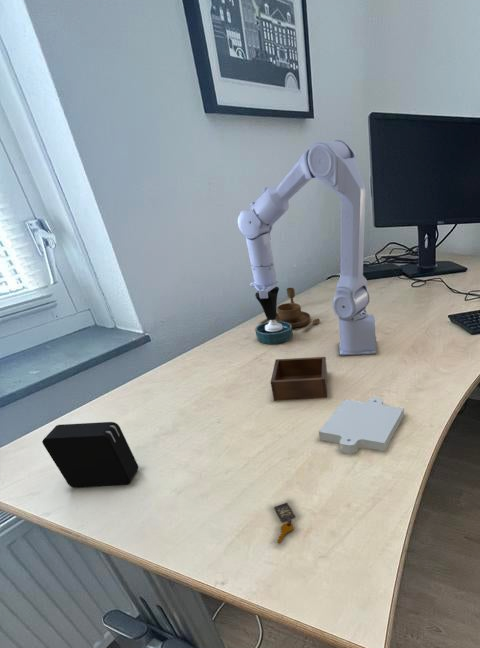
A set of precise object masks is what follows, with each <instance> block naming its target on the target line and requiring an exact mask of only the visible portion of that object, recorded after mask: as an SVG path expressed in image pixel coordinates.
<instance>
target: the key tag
mask: <svg viewBox="0 0 480 648" xmlns="http://www.w3.org/2000/svg"><path fill="white" fill-rule="evenodd" d="M273 509H274V510H275V512H276V514H277V516H278V518H279V520H280V521H281V522H285V521H287V522H285V523H283V524H282V525H281V526H280V530H281V531H280V534H279V536H278V538H277V543H279V544H280V543H281V542H282V540H283V538H284V537H285V535H288V533H290V532H291V531H292V530H293V529H294V525H293V524H292V519H293V518H296V516H295V514H294V512H293V510H292V508H291V507H290V505H289V503H288V502H284V503H282V504H279V505H275V506H274V507H273Z"/></svg>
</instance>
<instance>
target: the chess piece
mask: <svg viewBox="0 0 480 648" xmlns="http://www.w3.org/2000/svg"><path fill="white" fill-rule="evenodd" d="M268 322H269V324H267V325H266V326H265V330H266V331H270V332H274V331H279V330H281V329H282V328H283V327H282V324H280V323H277V321H276V320H269V321H268Z"/></svg>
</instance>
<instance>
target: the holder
mask: <svg viewBox="0 0 480 648" xmlns="http://www.w3.org/2000/svg"><path fill="white" fill-rule="evenodd" d="M270 387H271V391H272V396H273V401H275V402H276V401H292V400H293V401H294V400H295V401H296V400H311V399H326V398H328V366H327V357H326V356H315V357H312V356H311V357H295V358H281V359H280V358H277V359H275V361H274V364H273V369H272V374H271V378H270Z"/></svg>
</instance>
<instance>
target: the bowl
mask: <svg viewBox="0 0 480 648" xmlns="http://www.w3.org/2000/svg"><path fill="white" fill-rule="evenodd" d="M269 322H270V321H265V322H263V323H260V324H258V325H256V326H255V327H254V328H255V329H254V331H255V335H256V339H257V341H258V342H260V343H262V344H265V345H278V344H283V343H286V342H288V341H290V340H292V338H293V336H294V331H293V328H292V325H291V324H290V323H288V322H283V321H277V323H280V324H282V327H283V328H282V329H281V330H279V331H274V332H270V331H266V330H265V326H266V325H267V324H269Z"/></svg>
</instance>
